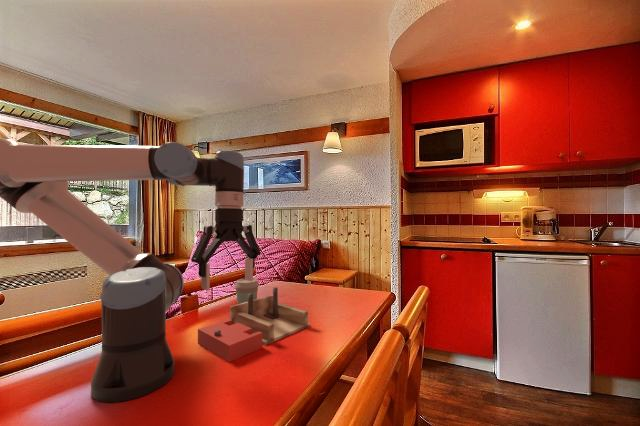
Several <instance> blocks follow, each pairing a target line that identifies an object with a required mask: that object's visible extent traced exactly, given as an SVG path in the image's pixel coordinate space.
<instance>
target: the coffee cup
mask: <svg viewBox="0 0 640 426" xmlns="http://www.w3.org/2000/svg"><path fill="white" fill-rule="evenodd" d="M259 286H260V284H259V281H258V279H256V278H253V281H247V280H245V278H240V279H237V280H236V282H235V284H234V288H235V293H236V300H237V302H236V303H237V304H240V303H244V302H248V294H250V293H252V294H253V300H255V299H258V291H259V290H258V288H259Z"/></svg>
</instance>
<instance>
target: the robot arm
mask: <svg viewBox="0 0 640 426" xmlns="http://www.w3.org/2000/svg"><path fill="white" fill-rule="evenodd" d="M244 163H245V161H244V156H243V155H242V154H241V153H240V152H238V151H234V150H219V151H216V154H215V157H214V158H205V157H204V158H203V157H198V156H196V154H195V153H194V151H193V150H192V149H190V147H188V146H186V145H184V144H182V143H180V142H176V141H170V142H169V141H168V142H165V143H163V144H162V145H157V146H156V145H90V144H89V145H87V144H86V145H84V144H82V145H80V144H79V145H77V144H76V145H75V144H73V145H71V144H69V145H67V144H19V142H17V141H15V140H12V139H9V138H8V139H5V138H0V198H1V200H3V201H5V202H6V203H8V205H9V206H11V207H12V208H14V209H15V211H17V212H19V213H20V214H21V213H23V214H33V215H34V216H35V217H37V218H38V219H39V220H40V221H42V223H44V224H45V225H47V226H48V227H49V228H50V229H51V230H52V231H54V232H55V233H57V234H58V235H59V236H60V237H62V239H64V240H65V241H66V242H67V243H68V244H70V245H71V246H72V247H73V248H75V249H76V250H77V251H78V252H80V253H81V254H82V255H84V256H85V257H86V258H87V259H89V261H91V262H92V263H93V264H95V265H96V266H97V267H98V268H99V269H101V270H102V271H104V272H105V273H106V274H107V275H108V277H106V279H104V281H103V283H102V286H101V294H100V302H101V303H100V304H101V353H100V356H99V359H98V362H97V365H96V367H95V371H94V373H93V375H92V379H91V381H90V395H91V397H92V398H93V400H95V401H98V402H102V403H118V402H124V401H125V402H126V401H130V400H134V399H137V398H140V397H143V396H146V395H147V394H148V395H149V394H151V393H153V392H154V391H156V390H158V389H160V388H162V387H163V386H165V385H166V384H167V383H169V381H171V379H173V377H174V375H175V371H176V370H175V360H174V356H173V353H172V351H171V349H170V346H169V344H168V341H167V338H166V337H167V335H166V333H167V332H166V331H167V330H166V329H167V328H166V325H167V324H166V323H167V322H166V320H167V319H166V317H167V316H166V313H167V312H168V310H169V309H170V308H171V306H173V305H174V304H175V303H176V302H177V301H179V298H180V296H181V295H182V292H183V289H184V285H185V284H184V283H185V282H184V277H183V274H182V272H181V271H180V269H179V268H177V267H176V266H175V265H172V264H170V263H167V262H163V261H162V260H161V259H159V258H158V257H157V256H156V255H155V254H153V253H151V252H145V253H143V252H142V251H140V250H139V249H138V248H136V247H135V245H133V244H132V243H131V242H130V241H128V240H127V239H126V237H125V238H124V237H123V236H122V235H121V234H120V233H119V232H117V230H115V228H114V227H112V226H111V225H109V223H107V222H105V220H103V219H102V218H101V216H99V215H97V214H96V213H95V212H93V211H92V209H90V207H88V206H87V205H85V204H84V202H82V201H81V200H80V199H79V198H78V197H76V196H75V195H74V194H73V193H72V192H71V191H69V182H92V181H93V182H102V181H104V182H105V181H107V182H108V181H112V182H113V181H153V180H154V181H155V180H156V181H167V182H168V183H169V184H170V185H174V186H175V185H177V186H182V187H185V186H201V187H203V186H206V187H207V186H209V187H215V191H214V193H215V197H214V206H215V207H216V208H215V210H214V221H215V226H212V225H204V226H203V233H202V235H201V238H200V239H199V242H198V243H197V246H196V248H195V250H194V252H193V255H192V257H191V259H190V262H192V263H195V264H197V265H198V277H200V278H201V286H200V287H201V289H202V290H204V291H210V287H211V286H210V285H211V283H210V281H211V279H210V278H211V275H210V274H211V264H210V263H208V262H209V261H210V260H211V258H212V257H213V255H214V254H215V252H216V251H217V250H218V248H219V247H220V246H221V245H222V244H223V243H227V242H235V243H237V244H238V246H239V247H240V248H241V250H242V251H243V252H244V253H245V255H246V256H247V257H245V258H244V259H245V261H244V262H245V263H244V266H245V267H244V279H245V280H247V281H253V279H254V269H255V267H256V265H255V262H256V261H255V260H256V259H257V258H258V256H261V251H260V247H259V245H258V243H257V240H256V237H255V236H254V233H253V226H252V225H251V224H244V225H243V221H244V210H243V207H244V196H245V195H244V188H245V187H244V186H245V185H244V184H245V182H244V181H245V180H244V179H245V164H244ZM214 233H215V236H214V237H213V238H212V236H213V235H214ZM242 233H244V235H243V234H242ZM244 236H245V237H244ZM211 239H212V241H211ZM245 239H246V240H245ZM210 241H211V242H210ZM209 243H210V244H209Z"/></svg>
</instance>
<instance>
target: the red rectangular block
mask: <svg viewBox="0 0 640 426" xmlns="http://www.w3.org/2000/svg"><path fill="white" fill-rule="evenodd" d="M197 344H198V345H199V346H201V347H203V348H205V349H206V350H208V351H210V352H212V353H213V354H214V355H217V356H218V357H220V358H222V359H223V360H225V361H227V362H229V363H230V362H232V361H235V360H238V359H239V358H241V357H244V356H246V355H249V354H251V353H253V352H256V351H258V350H260V349H263V344H262V332H256V333H253V334H252V328H250V327H247V326H245V325H243V324H240V323H236V324H233V325H232V320H231V319H230V318H228V319H225V320H222V321H220V322H216V323H213V324H210V325H206V326H204V327H199V328H197Z"/></svg>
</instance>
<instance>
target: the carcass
mask: <svg viewBox="0 0 640 426" xmlns="http://www.w3.org/2000/svg"><path fill="white" fill-rule="evenodd" d="M278 294H279V293H278V287H277V286H275V287H272V294H270V295H266V296H263V297H259V298H257V299H255V300H253V294H252V293H250V294H248V302H244V303H240V304H238V303H237V304H233V305H230V306H229V319H231V320H232V325H233V324H236V323H240V324H243V325H245V326H247V327H250V328H252V334H253V333H256V332H262V345H265V346H267V345H269V344H272V343H274V342H276V341H279V340H281V339H284V338H286V337H288V336H291V335H293V334H295V333H297V332H300V331H301V330H302V331H303V330H305V329H307V328H308V327H311V323H310V322H309V310H307V309H306V310H305V309H303V308H302V309H301V308H299V307H295V306H291V305H288V304H285V303H282V302H279V301H278V298H279V297H278Z"/></svg>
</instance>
